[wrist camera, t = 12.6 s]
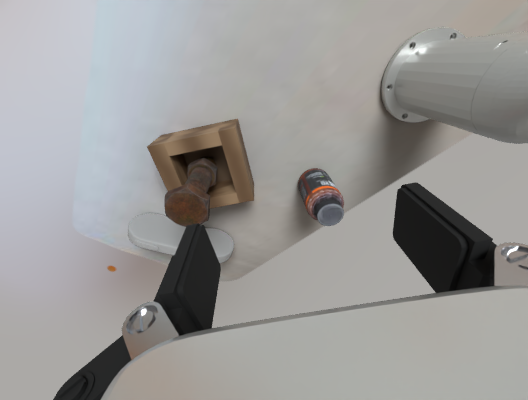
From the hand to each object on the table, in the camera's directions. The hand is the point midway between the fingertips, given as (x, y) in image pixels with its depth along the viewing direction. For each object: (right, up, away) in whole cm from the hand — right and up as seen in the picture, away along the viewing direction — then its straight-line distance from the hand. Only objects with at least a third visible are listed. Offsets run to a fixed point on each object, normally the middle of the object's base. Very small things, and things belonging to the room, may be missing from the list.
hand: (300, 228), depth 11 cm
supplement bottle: (+7, +5, +33) cm, 34 cm away
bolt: (-12, +8, +30) cm, 33 cm away
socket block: (-11, +8, +30) cm, 33 cm away
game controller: (-17, -4, +37) cm, 41 cm away
